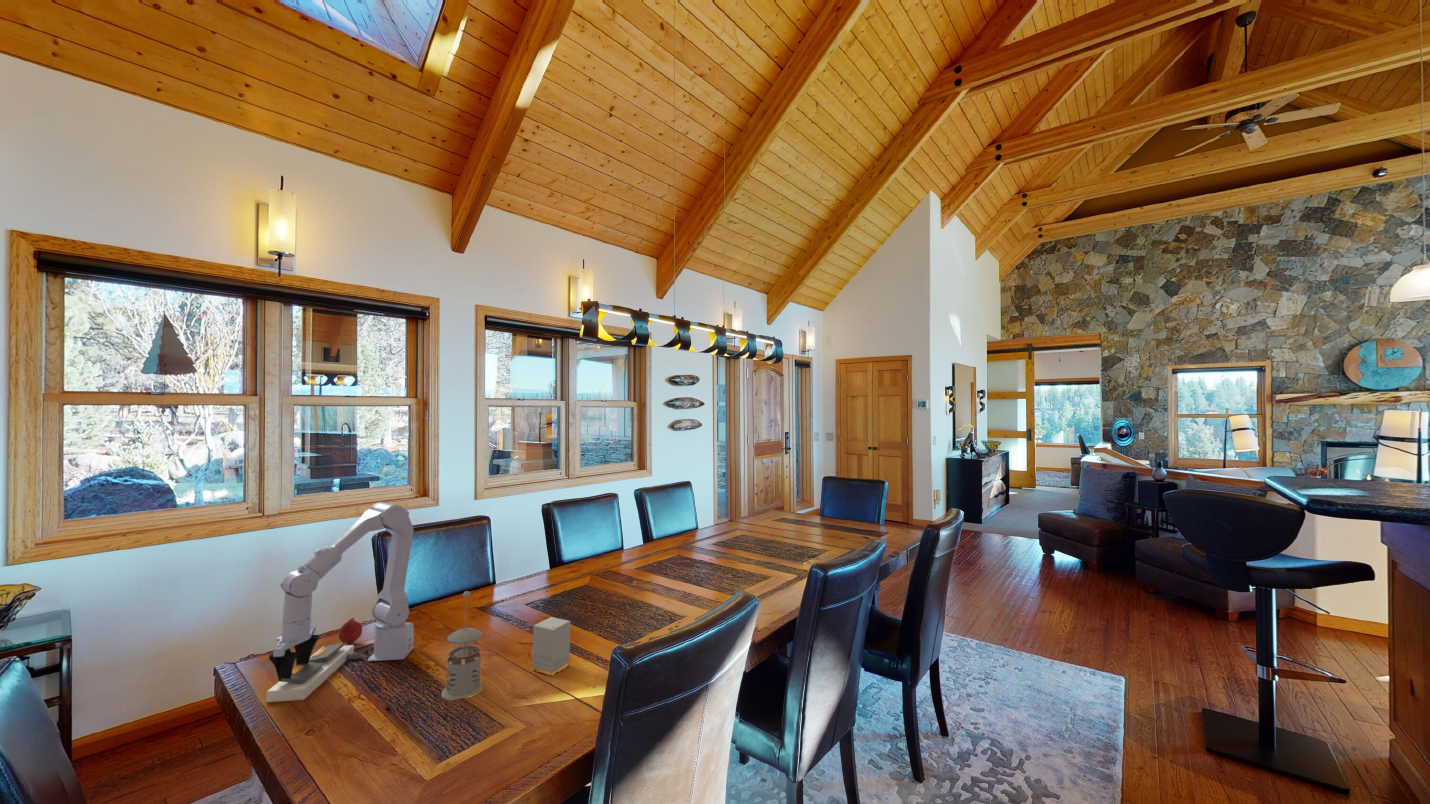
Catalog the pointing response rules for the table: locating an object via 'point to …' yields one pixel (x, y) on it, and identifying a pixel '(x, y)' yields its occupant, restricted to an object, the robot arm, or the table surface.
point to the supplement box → (551, 644)
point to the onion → (350, 631)
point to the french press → (463, 676)
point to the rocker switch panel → (302, 690)
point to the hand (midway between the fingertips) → (293, 673)
